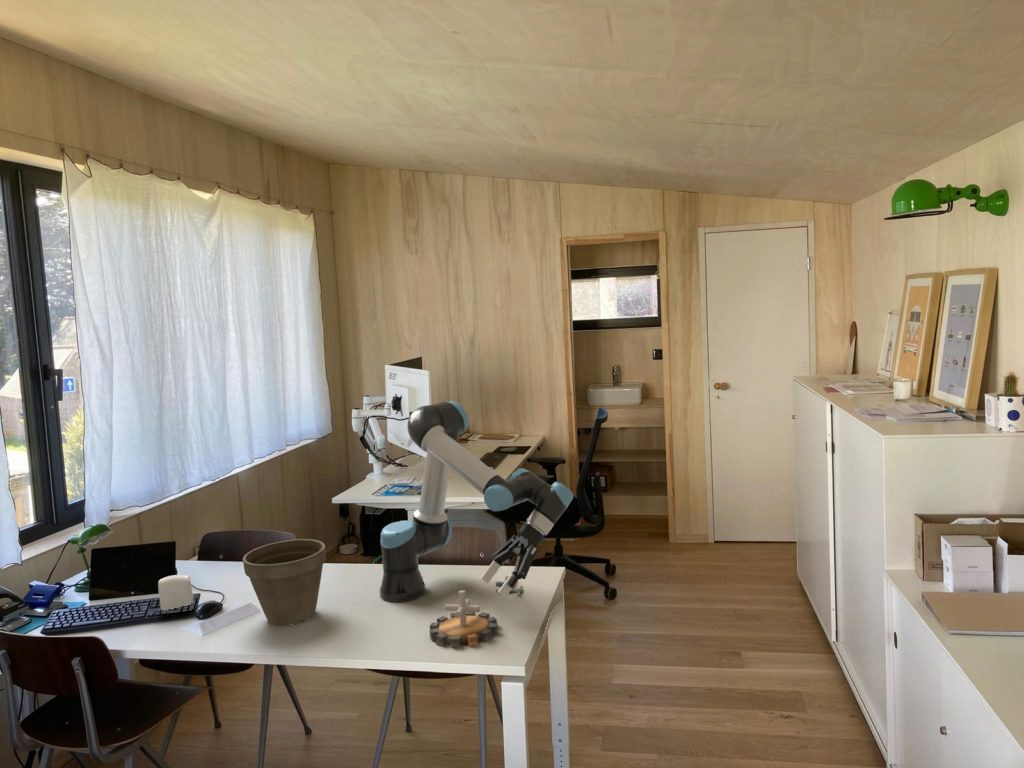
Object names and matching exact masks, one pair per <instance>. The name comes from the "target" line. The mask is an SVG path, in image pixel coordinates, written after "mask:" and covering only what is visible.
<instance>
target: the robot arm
mask: <svg viewBox="0 0 1024 768" xmlns="http://www.w3.org/2000/svg"><path fill="white" fill-rule="evenodd" d="M468 426H469V416H468V413H467V411H465V408H464V406H462V405H461V404H460V403H459V402H456V401H453V400H450V401H446V400H445V401H442V402H437V403H434V404H429V405H423V406H419V407H417V408H416V409H414V410H413V411H412V412H411V413H410V415H409V417H408V420H407V432H408V435H409V437H410V439H411V440H412V442H413V443H414V445H416V446H417V447H418V448H420V449H421V450H422V451H423V452H425V453H426V455H425V463H424V471H423V478H422V484H421V485H422V486H421V492H420V499H419V506H418V508H417V509H415V510H414V512H413V517H412V521H411V520H400V521H395V522H391V523H389V524H387V525H386V526H384V527H383V528H382V530H381V532H380V546H381V547H380V548H381V557H382V569H383V575H382V579H381V584H380V587H379V596H380V598H381V600H383V599H384V601H386V600H388V601H387V602H394V601H397V602H407V601H411V600H416V599H418V598H420V597H422V596H423V595H424V594H425V593H426V591H427V590H426V583H425V581H424V578H423V576H422V574H421V571H420V569H419V557H422V556H424V555H427V554H430V553H431V552H435V551H437V550H440V549H441V548H442V547H445V546H446V545H447V544H448V543H449V541H450V539H451V537H452V529H453V528H452V525H451V524H450V523H451V522H450V520H449V518H448V514H447V513H446V512H445V505H446V497H447V492H448V491H447V490H448V484H449V478H450V470H452V471H453V472H454V473H455V474H457V475H458V476H460V477H461V478H462V480H464V481H466V483H468V484H469V485H470V486H471V487H473V488H474V489H476V490H477V491H478V493H481V494H482V495H483V501H484V503H485V505H486V507H487V509H489V510H491V511H493V512H500V511H504V510H507V509H508V510H509V508H511V507H514V506H516V505H519V504H521V503H524V502H526V501H528V502H530V503H532V504H533V505H534V506H536V507H534V509H533V511H532V512H531V513H530V515H529V516H528V517H527V519H526V522H523V524H522V526H521V527H520V528H519V529H518V534H519V536H517V535H516V534H512V536H511V537H510V538H509V540H507V541H506V542H505V543H504V544H503V545H502V546H501V547H500V548H498V549H497V550H495V552H494V553H492V556H491V557H492V562H491V563H490V565H489V566H488V567H487V569H486V570H485V571H484V573H483V574H482V575H481V577H480V580H482V581H483V582H485V583H486V584H489V582H490V581H491V580H492V578H493V577H494V576H495V575H496V574H497V572H498V571H499V569H500V568H501V566H502V564H503V563H504V562H506V561H507V560H508V559H511V558H512V557H513V556H517V558H516V561H515V566H514V569H513V570H514V571H512V572H511V573H510V574H509V577H508V578H507V580H506V581H505V580H504V581H503V582H504V584H503V585H501V587H500V588H499V589H498V590H499V591H497V593H498V594H500V596H502V597H503V598H506V597H507V596H508V595H509V594H510V593H511V592H510V591H511V589H514V586H516V584H517V582H518V581H519V580H521V579H522V580H526V579H527V575H528V573H529V571H530V569H531V567H532V563H533V561H534V559H535V557H536V555H537V553H538V551H539V550H538V549H537V548H536V547H540V546H541V544H542V542H544V540H545V536H548V534H549V533H550V531H551V530H553V529H552V528H553V527H554V525H555V524H556V523H557V522H558V520H559V519H560V518H561V516H562V515H563V514H564V513H565V511H566V510H567V509H568V507H569V505H570V504H571V502H572V501H573V499H574V493H573V492H572V490H571V489H569V488H568V487H567V486H565V485H564V484H563V483H561V482H559V481H554V482H553V483H552V484H550V483H547V482H546V481H545V480H544V479H542V478H540V477H539V476H538V475H536V474H534V473H533V472H531V471H530V470H528V469H526V468H522V467H521V468H518V469H516V471H514V472H513V473H512V474H511V476H510V478H509V480H506V479H505V478H503V477H502V476H501V475H500V474H498V473H497V472H495V471H494V470H493V469H491V468H490V466H488V465H486V464H485V463H484V462H483V461H482V460H480V459H479V458H478V457H476V456H475V455H474V454H472V452H470V451H469V450H468V449H466V448H465V447H464V446H462V445H461V444H460V443H459V441H460V435H463V434H464V433H465V432H466V431H467V430H468ZM534 546H535V547H534Z"/></svg>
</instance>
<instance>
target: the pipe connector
mask: <svg viewBox="0 0 1024 768" xmlns="http://www.w3.org/2000/svg"><path fill="white" fill-rule="evenodd" d="M458 602H459V604H457V603H456V604H455V603H454V604H453V603H451V604H450V603H446V604H445V607H444V610H445V611H449V612H454V613H455V617H456V618H460V626H466V625H467V621H466V613H467V612H475V613H480V611H481V606H480V605H474V604H472V605H470V604H471V600H470V599H469V598H466V590H464V589H463V590H459V591H458Z"/></svg>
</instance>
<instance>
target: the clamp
mask: <svg viewBox="0 0 1024 768" xmlns="http://www.w3.org/2000/svg"><path fill="white" fill-rule="evenodd" d="M509 576H510V575H509ZM509 576H508V575H507V576H505V577H504V581H497V580H496V581H495V586H496V587H497V586H498V587H499V586H501V587H502V585H503V584H504V582H505V581H506V580H507V578H508V577H509ZM522 588H524V586H523V585H521V586H520V587H519V588H516V589H514V588H512V589H511V591H510V592H509V593H514V592H516V591H517V594H516V596H517V597H521V593H523V590H524V589H522ZM498 591H499V589H496V590H495V592H498ZM518 592H519V593H518Z"/></svg>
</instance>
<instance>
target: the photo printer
mask: <svg viewBox="0 0 1024 768" xmlns="http://www.w3.org/2000/svg"><path fill="white" fill-rule="evenodd" d="M157 583H158V585H157V588H158V594H159V595H158V597H159V604H160V605H159V607H160V611H161V610H168V609H174V608H179V607H182V606H188V605H191V603H193V602H194V595H193V587H192V581H191V577H190V576H189V575H185V574H175V575H174V574H173V575H168V576H165V577H163V578H161V579H159V580H158V582H157Z"/></svg>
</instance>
